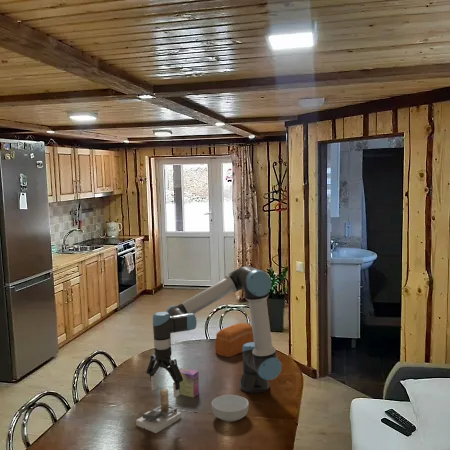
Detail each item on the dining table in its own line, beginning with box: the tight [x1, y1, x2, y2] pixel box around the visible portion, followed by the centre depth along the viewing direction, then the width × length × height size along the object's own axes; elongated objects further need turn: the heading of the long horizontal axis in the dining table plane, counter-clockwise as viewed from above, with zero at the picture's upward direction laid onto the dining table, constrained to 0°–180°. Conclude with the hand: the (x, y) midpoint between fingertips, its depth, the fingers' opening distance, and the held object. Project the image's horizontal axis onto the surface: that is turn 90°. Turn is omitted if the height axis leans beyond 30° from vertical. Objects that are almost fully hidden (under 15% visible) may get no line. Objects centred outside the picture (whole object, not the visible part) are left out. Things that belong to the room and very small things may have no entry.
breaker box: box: [136, 404, 182, 434], centre depth 215 cm, size 12×16×4 cm
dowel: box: [159, 388, 170, 416], centre depth 218 cm, size 4×4×11 cm
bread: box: [214, 322, 254, 358], centre depth 304 cm, size 14×26×16 cm, turn 137°
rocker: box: [141, 410, 163, 420], centre depth 212 cm, size 8×4×2 cm, turn 54°
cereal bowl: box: [211, 394, 250, 422], centre depth 217 cm, size 17×17×7 cm
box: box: [176, 367, 200, 398], centre depth 242 cm, size 10×6×12 cm, turn 65°
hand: (165, 392), depth 218 cm, fingers open, 13 cm apart
